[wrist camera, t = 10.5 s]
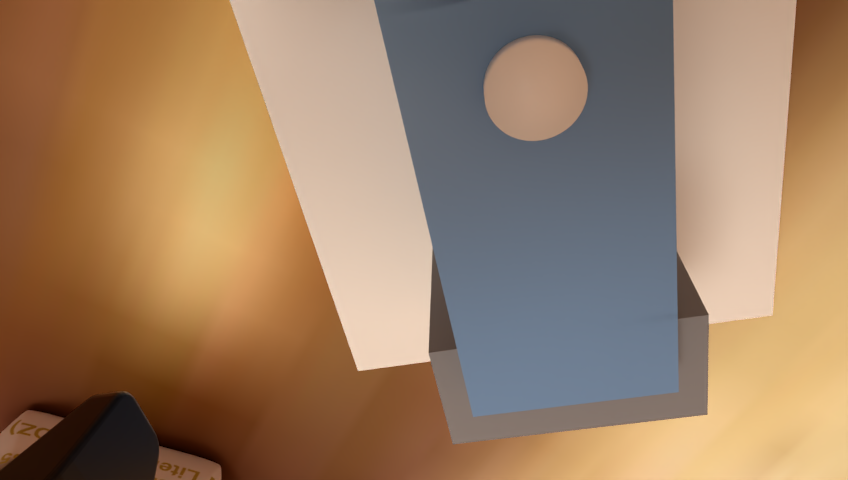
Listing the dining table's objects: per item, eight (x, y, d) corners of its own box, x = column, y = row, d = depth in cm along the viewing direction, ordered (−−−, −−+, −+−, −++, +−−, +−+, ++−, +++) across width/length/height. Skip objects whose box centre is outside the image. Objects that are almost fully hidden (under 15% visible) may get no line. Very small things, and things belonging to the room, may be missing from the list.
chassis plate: (361, 350, 24) (336, 507, 18) (140, -305, 14) (-39, -363, 9) (760, 295, 22) (857, 451, 17) (810, -494, 12) (1071, -706, 7)
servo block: (467, 262, 20) (473, 431, 15) (378, -163, 15) (336, -139, 9) (620, 239, 20) (683, 405, 14) (590, -213, 14) (678, -220, 9)
